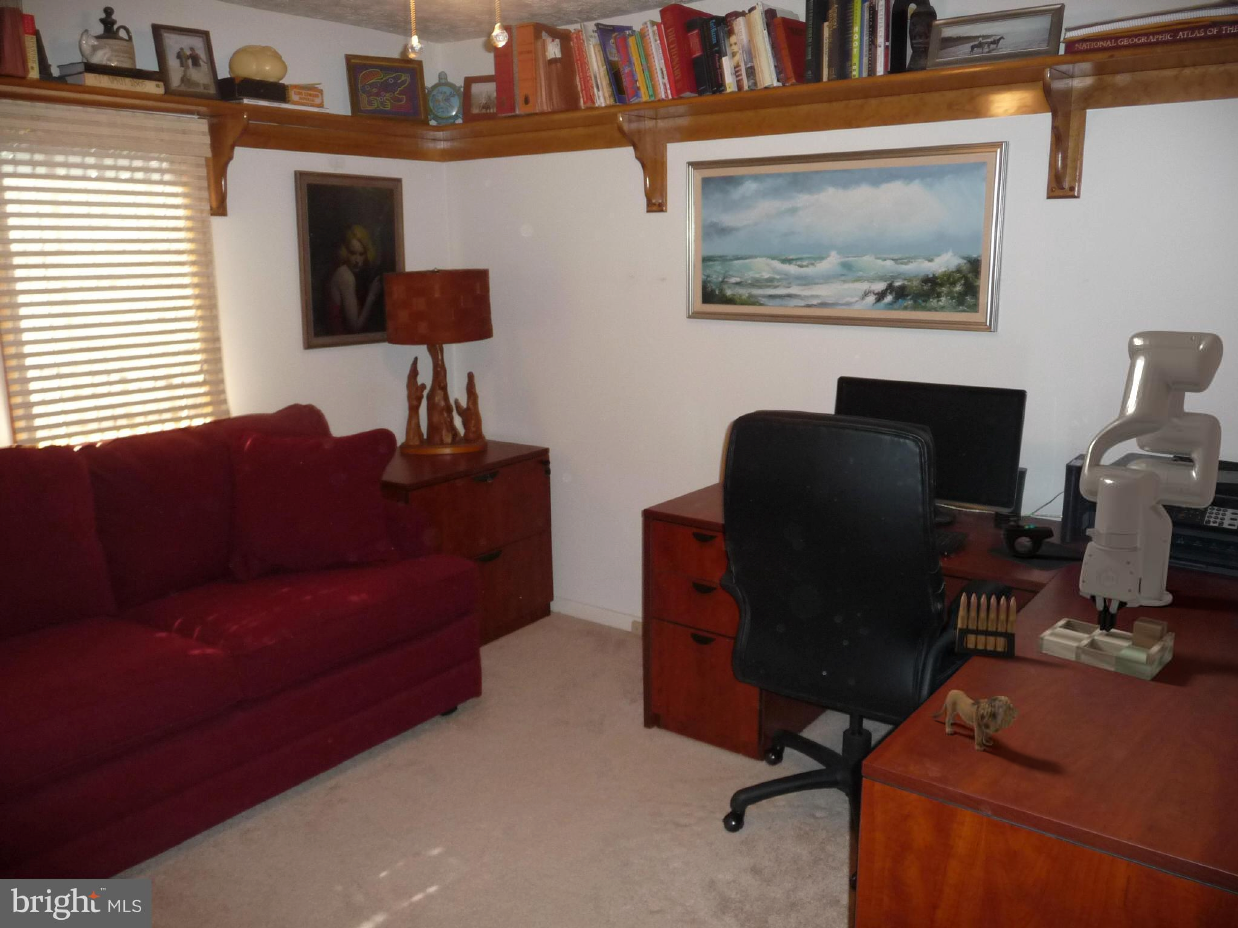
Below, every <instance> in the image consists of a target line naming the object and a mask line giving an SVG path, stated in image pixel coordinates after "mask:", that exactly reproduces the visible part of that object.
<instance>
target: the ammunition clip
mask: <svg viewBox="0 0 1238 928" xmlns="http://www.w3.org/2000/svg"><path fill="white" fill-rule="evenodd" d="M967 597H968V596H967V594H966V592H963V593H962V596H961V600H960V606H959V612H958V616H957V617H958V620H957V631H956V639H955V640H956V642H955V648H954V650H955V653H958V654H959V653H961V654H969V655H978V656H986V657H987V656H988V657H994V658H995V657H996V658H997V657H998V658H1005V659H1015V657H1016V656H1015V654H1016V630H1017V603H1016V598H1015V596H1013V597H1012V598H1011V601H1010V604H1009V609H1008V616H1007V599H1006V596H1005V595H1002V598H1001V599H1000V602H999V610H998V613H997V598H996V595H995V594H994V595H992V596H991V600H990V604H989V610H988V602H987V596H986V594H985V593H984V594H983V595H982V597H981V600H980V605H979V611H978V608H977V607H978V600H977V599H978V598H977V595H976V593H973V594H972V596H971V600H970V602H969V603H970V605H969V611H968V598H967ZM987 610H988V611H989V612H987ZM977 612H978V613H977ZM997 614H998V616H997Z"/></svg>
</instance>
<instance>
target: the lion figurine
mask: <svg viewBox="0 0 1238 928" xmlns="http://www.w3.org/2000/svg"><path fill="white" fill-rule="evenodd" d="M946 710H947V712H946ZM945 712H946V713H947V715H946V719H945V733H946V734H949V735H952V734H954V733H955V732H954V729H953V728H952V725H951V724H955V723H956V719H955V718H954V716H955V714H959V716H960V717H961V719H962V721H964V722H965V723H967V724H969V725H970V726H973V728H974V740H975V741H974V748H975V750H976V751H980V752H982V751H984V750H985V748H984V746H983V744H985V745H986V746H993V744H994V742H993V740H991V739H990V735H994V734H997V733H998V732H1000V730H1005V729H1008V728H1009V727H1010V726H1011V725H1012V724H1013V722H1014V720H1015V717H1017V715H1018V712H1019V710H1018V709H1017V708H1016V707H1014V705H1013V704H1012V703H1011V701H1010V697H1007V696H1004V695H1001V696H1000V695H997V696H993V697H990V698H985V699H978V700H976V701H974V700H973V699H971V698H970V697H968V695H967V694H966V693H965V692H964V691H962V690H957V689H952V690H950V691H949V692H948V694H947V695H946V698H945V701H944V704H943V706H942V709H941V710H940V711H939V712H938V713H935V714H933V715H931V717H932V718H933V719H938V718H940V717H941V716H942V715H943V714H944V713H945Z"/></svg>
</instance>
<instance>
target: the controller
mask: <svg viewBox="0 0 1238 928" xmlns="http://www.w3.org/2000/svg"><path fill="white" fill-rule="evenodd" d="M1009 520H1010V522H1009V523H1007V524H1006V523H1005V524H1004V523H1003V524H1002V528H1003V529H1002V531H1001V533H1000V534H1001V536H1000V537H1001V539H1003V543H1004V546H1005V548H1006V549H1007V550H1008V551H1009V553H1010V554H1012V555H1014V556H1016V557H1019V558H1029V557H1032V556H1034V555H1036V554H1038V552H1039V551H1040V550H1041V549H1042V546H1043V543H1044V541H1045V540H1048V539H1052V538H1053V537H1054V536H1055V534H1054V531H1053V529H1052V528H1051V527H1049V526H1038V525H1037V526H1036V525H1029V524H1024V525H1022V524H1020V523H1018V521H1019V518H1018V517H1015V516H1013V517H1010V518H1009ZM1021 538H1026V539H1027V538H1028V539H1029V541H1030V546H1029V547H1028V548H1027V549H1025V550H1020V549H1018V548H1017V547H1016V542H1017V540H1020V539H1021Z"/></svg>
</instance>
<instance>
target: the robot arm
mask: <svg viewBox="0 0 1238 928" xmlns="http://www.w3.org/2000/svg"><path fill="white" fill-rule="evenodd" d="M1223 343H1224V342H1223V341H1222V338H1221V337H1220V336H1219V335H1218V334H1217V333H1212V332H1203V331H1202V332H1199V331H1197V332H1195V331H1178V330H1177V331H1175V330H1143V331H1139V332H1136V333H1133V335H1131V336H1130V337H1129V340H1128V343H1127V353H1128V357H1129V361H1130V363H1129V366H1128V372H1127V376H1126V380H1125V385H1124V391H1123V396H1122V400H1121V404H1120V409H1119V414H1118V416H1117V418H1115V419H1113V421H1111V422H1110V423H1108V424H1107V425H1106V426H1104V427H1103V428H1102V429H1100V431H1099V432H1098V433H1097V434H1096V435H1095V436H1094V437H1093V438H1092V439H1091V441H1090V443H1089V445H1088V447H1087V450H1086V451H1085V456H1084V461H1083V464H1082V467H1081V472H1080V479H1079V492H1080V494H1081V496H1082V497H1083V498H1084V499H1086V500H1088V501H1091V502H1095V503H1096V507H1095V509H1096V510H1095V511H1096V512H1095V518H1094V519H1095V520H1094V521H1095V522H1094V527H1093V528H1092V527H1091V528H1086V531H1085V534H1086V535H1087V536H1089V537H1091V541H1089V542H1088V543H1087V545H1086V549H1085V552H1084V555H1083V561H1082V566H1081V571H1080V576H1079V584H1078V585H1079V589H1080V590H1079V594H1080V596H1083V597H1085V598H1087V599H1090V601H1092V603H1093V604H1094V606H1096V607H1095V608H1096V609H1097V611H1098V614H1097V624H1096V625H1098V626H1100V629H1099V630H1100V631H1105V632H1109V631H1111V630H1112V629H1115V628H1116V626H1117V619H1118V612H1119V611H1121V610H1122V609H1123V608H1125V607H1128V608H1137V607H1139V606H1144V607H1145V606H1146V607H1147V606H1148V607H1162V606H1167V605H1169V604H1171V603H1172V601H1173V594H1171V593H1170V592H1169V591H1167V590H1166V584H1167V578H1168V577H1167V576H1168V568H1169V558H1170V550H1171V542H1172V540H1171V539H1172V533H1173V531H1172V530H1173V522H1172V519H1171V518H1170V515H1169V513H1167V510H1166V509H1165V508H1164V507H1163V505H1166V506H1168V505H1169V506H1176V507H1184V508H1193V509H1204V508H1207V507H1208V506H1210V505H1211V503H1212V502H1213V500H1214V498H1215V493H1216V487H1217V479H1218V471H1219V461H1220V452H1221V447H1222V446H1221V445H1222V426H1221V422H1220V420H1219V418H1217V417H1216V416H1214V415H1212V414H1209V413H1204V412H1203V413H1202V412H1192V411H1191V412H1190V411H1186V410H1185V407H1184V406H1185V399H1186V398H1185V397H1186V393H1194V394H1195V393H1196V394H1198V393H1204V392H1205V391H1206V390H1207V389H1209V387H1211V384H1212V382H1213V381H1214V378H1215V375H1216V373H1217V372H1218V370H1219V368H1220V365H1221V362H1222V360H1223V356H1224V344H1223ZM1133 439H1135V440H1136V446H1137V447H1138V449H1140V450H1142V451H1144V452H1147V453H1152V454H1159V455H1166V456H1167V455H1169V456H1179V457H1186V458H1187V457H1188V458H1190V459H1191V460H1192V461H1193V462H1185V461H1183V462H1182V461H1174V460H1166V459H1157V458H1156V459H1155V458H1140V459H1138V458H1137V459H1134V460H1132V461H1131V462H1129V463H1128V464H1127V465H1126V466H1120V465H1110V464H1102V463H1101V462H1102V460H1103V458H1104V456H1105V454H1106V453H1107V452H1108V451H1109V450H1110V449H1112V448H1113V447H1115V446H1117V445H1118V444H1121V443H1124V442H1126V441H1129V440H1133ZM1108 599H1110V600H1111V602H1110V606H1109V604H1108Z"/></svg>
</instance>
